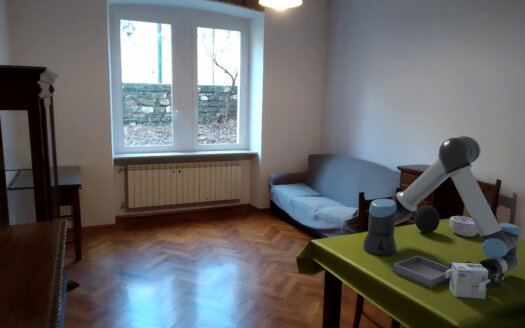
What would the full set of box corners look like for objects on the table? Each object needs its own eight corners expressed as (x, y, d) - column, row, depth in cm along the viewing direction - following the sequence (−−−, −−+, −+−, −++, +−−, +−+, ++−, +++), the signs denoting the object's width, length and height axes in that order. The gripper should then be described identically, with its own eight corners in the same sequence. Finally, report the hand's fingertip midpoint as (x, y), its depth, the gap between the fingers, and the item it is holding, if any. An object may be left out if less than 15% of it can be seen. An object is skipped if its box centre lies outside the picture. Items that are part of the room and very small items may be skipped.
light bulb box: (477, 290, 146) (481, 263, 144) (485, 299, 139) (489, 271, 138) (447, 288, 147) (451, 261, 145) (454, 297, 140) (458, 269, 139)
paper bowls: (475, 230, 215) (477, 216, 214) (484, 240, 201) (486, 225, 199) (445, 227, 219) (447, 214, 217) (452, 237, 204) (454, 222, 203)
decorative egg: (443, 235, 206) (446, 207, 204) (425, 237, 202) (427, 209, 199) (426, 227, 218) (428, 201, 215) (408, 229, 213) (410, 203, 211)
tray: (392, 271, 160) (393, 263, 159) (416, 262, 170) (417, 255, 169) (430, 288, 146) (431, 279, 146) (454, 277, 156) (455, 269, 155)
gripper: (524, 288, 143) (496, 305, 131) (461, 265, 163) (431, 277, 150) (527, 269, 142) (499, 284, 130) (463, 248, 161) (433, 259, 149)
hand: (462, 280), depth 140 cm, fingers closed on light bulb box, 11 cm apart
